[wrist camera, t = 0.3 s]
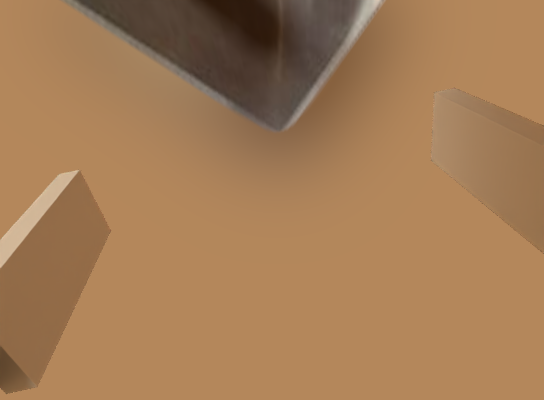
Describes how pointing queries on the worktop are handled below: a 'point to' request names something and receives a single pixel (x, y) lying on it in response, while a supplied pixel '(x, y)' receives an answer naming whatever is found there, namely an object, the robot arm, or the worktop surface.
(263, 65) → the worktop surface
